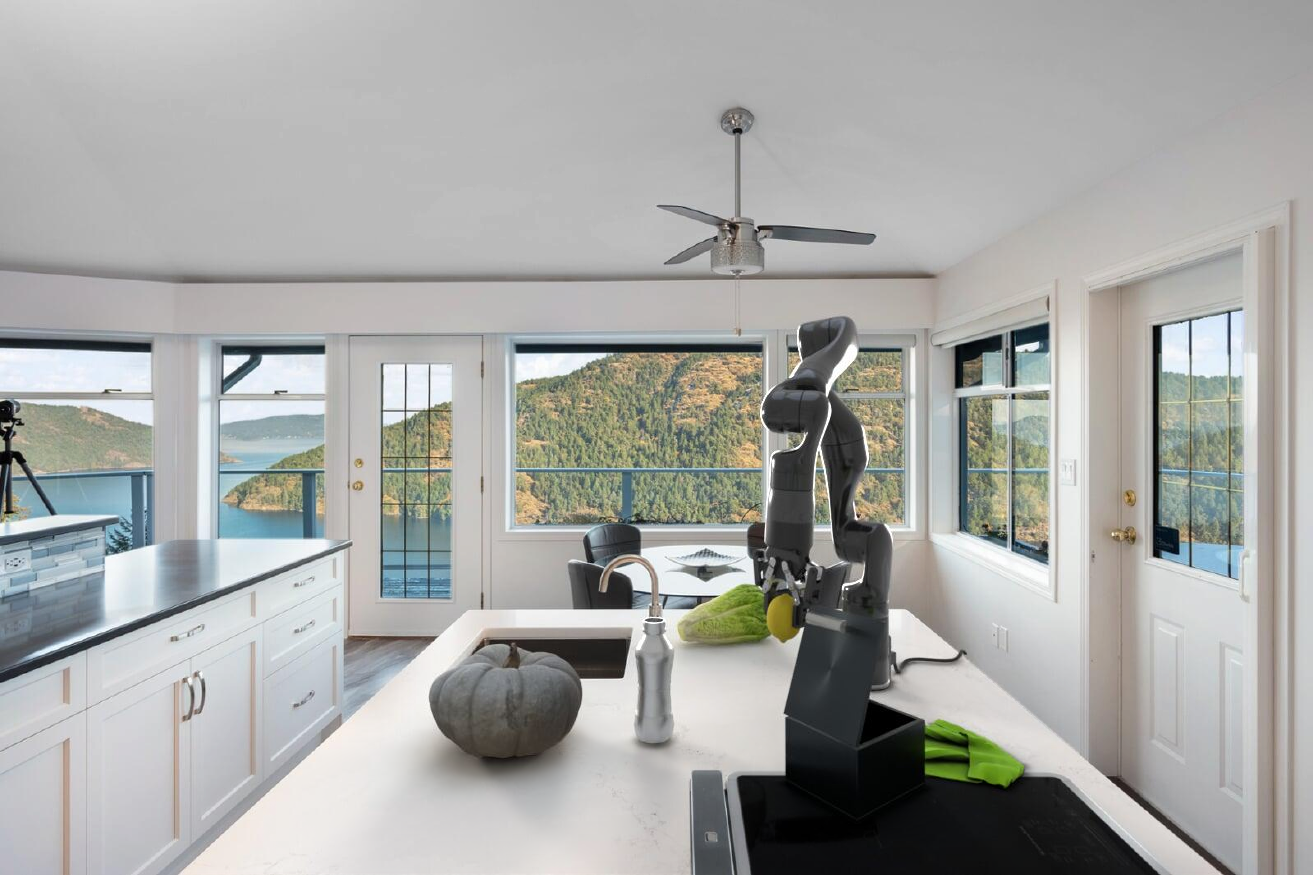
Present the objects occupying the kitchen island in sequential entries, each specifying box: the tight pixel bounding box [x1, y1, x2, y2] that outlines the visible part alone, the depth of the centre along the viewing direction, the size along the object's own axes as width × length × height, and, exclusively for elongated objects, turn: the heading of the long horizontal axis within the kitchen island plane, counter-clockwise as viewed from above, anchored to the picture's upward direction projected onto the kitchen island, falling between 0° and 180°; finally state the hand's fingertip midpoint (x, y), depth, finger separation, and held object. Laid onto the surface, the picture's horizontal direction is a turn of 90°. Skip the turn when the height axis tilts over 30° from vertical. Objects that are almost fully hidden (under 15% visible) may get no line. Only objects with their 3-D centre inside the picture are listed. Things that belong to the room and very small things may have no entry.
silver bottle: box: [633, 616, 675, 744], centre depth 110 cm, size 6×7×20 cm
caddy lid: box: [783, 603, 885, 747], centre depth 91 cm, size 16×13×5 cm
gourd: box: [428, 642, 583, 759], centre depth 109 cm, size 25×25×17 cm
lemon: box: [767, 592, 801, 644], centre depth 104 cm, size 6×6×8 cm
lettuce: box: [676, 583, 772, 645], centre depth 163 cm, size 14×24×14 cm
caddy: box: [784, 698, 926, 826], centre depth 95 cm, size 16×13×10 cm
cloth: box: [925, 718, 1026, 789], centre depth 106 cm, size 20×22×2 cm
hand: (784, 621), depth 104 cm, fingers closed on lemon, 5 cm apart
